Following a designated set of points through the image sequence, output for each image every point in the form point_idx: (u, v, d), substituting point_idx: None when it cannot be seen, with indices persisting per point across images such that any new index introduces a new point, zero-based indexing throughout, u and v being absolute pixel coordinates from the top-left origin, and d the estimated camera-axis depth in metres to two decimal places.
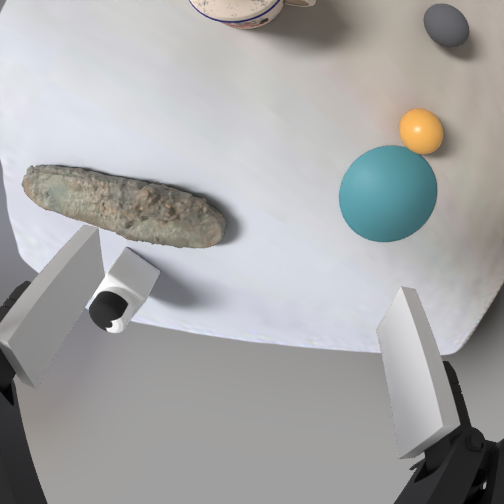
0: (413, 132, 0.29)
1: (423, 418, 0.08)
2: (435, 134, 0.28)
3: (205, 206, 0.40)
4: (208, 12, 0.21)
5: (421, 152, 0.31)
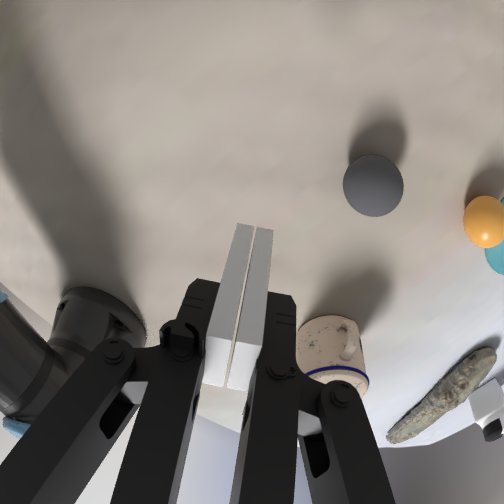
0: (488, 247, 0.26)
1: None
2: (497, 229, 0.24)
3: (469, 365, 0.40)
4: None
5: None
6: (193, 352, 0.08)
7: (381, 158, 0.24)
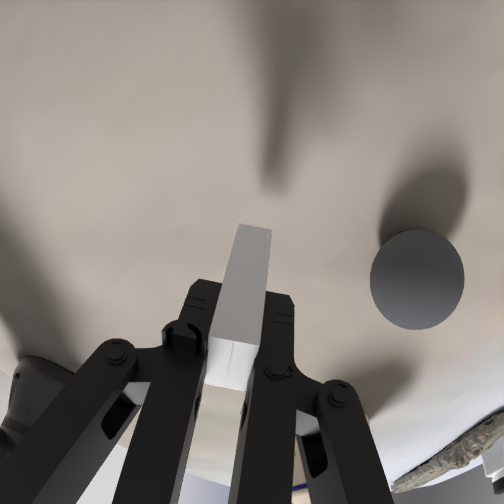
0: None
1: None
2: None
3: (486, 433, 0.30)
4: None
5: None
6: (195, 353, 0.08)
7: (438, 241, 0.14)
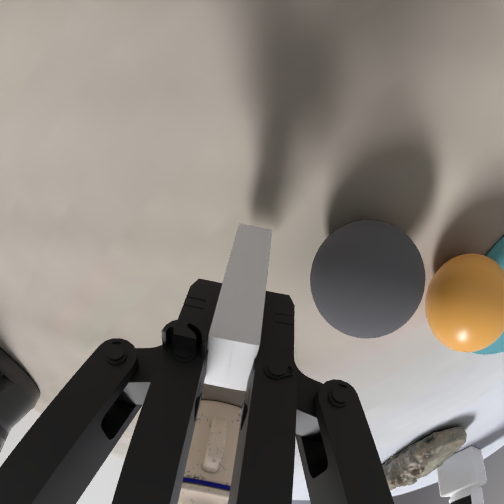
0: None
1: None
2: (501, 330, 0.12)
3: (423, 452, 0.28)
4: None
5: None
6: (195, 353, 0.08)
7: (390, 226, 0.13)
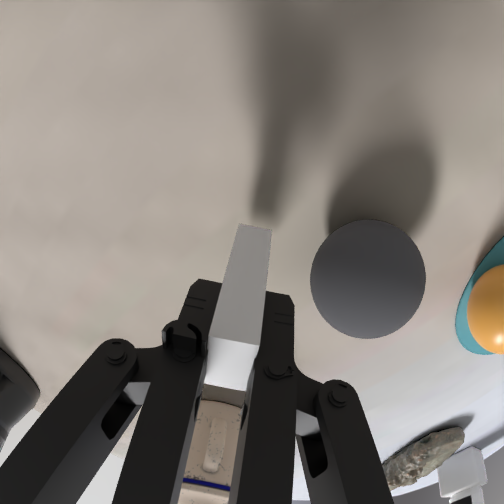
0: None
1: None
2: None
3: (420, 453, 0.28)
4: None
5: None
6: (195, 353, 0.08)
7: (390, 226, 0.13)
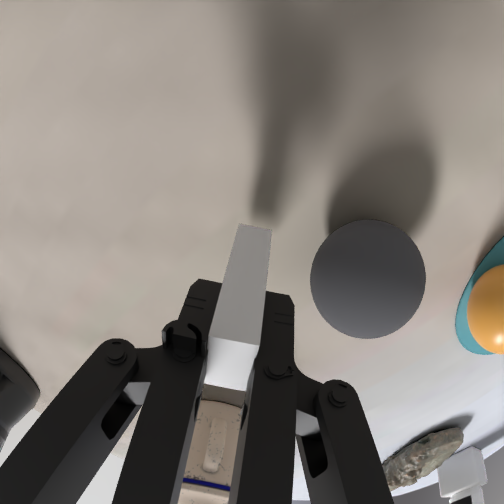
0: None
1: None
2: None
3: (419, 454, 0.28)
4: None
5: None
6: (195, 353, 0.08)
7: (390, 226, 0.13)
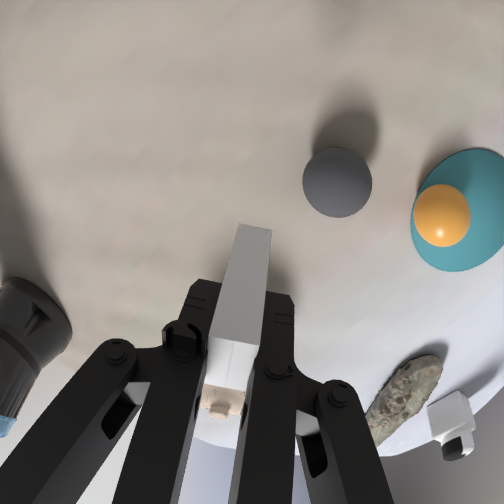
0: None
1: None
2: None
3: (402, 377, 0.38)
4: None
5: None
6: (195, 353, 0.08)
7: None
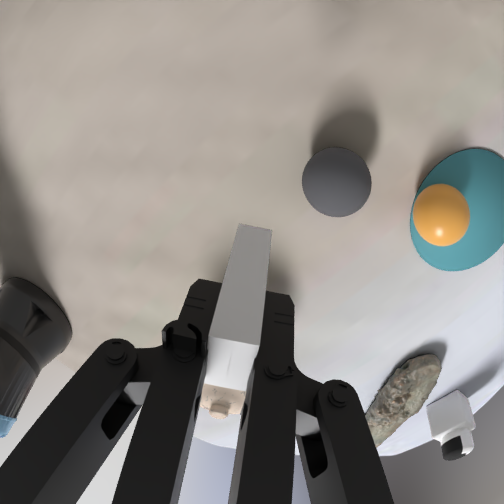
0: None
1: None
2: None
3: (400, 377, 0.38)
4: None
5: None
6: (195, 353, 0.08)
7: (346, 149, 0.23)
